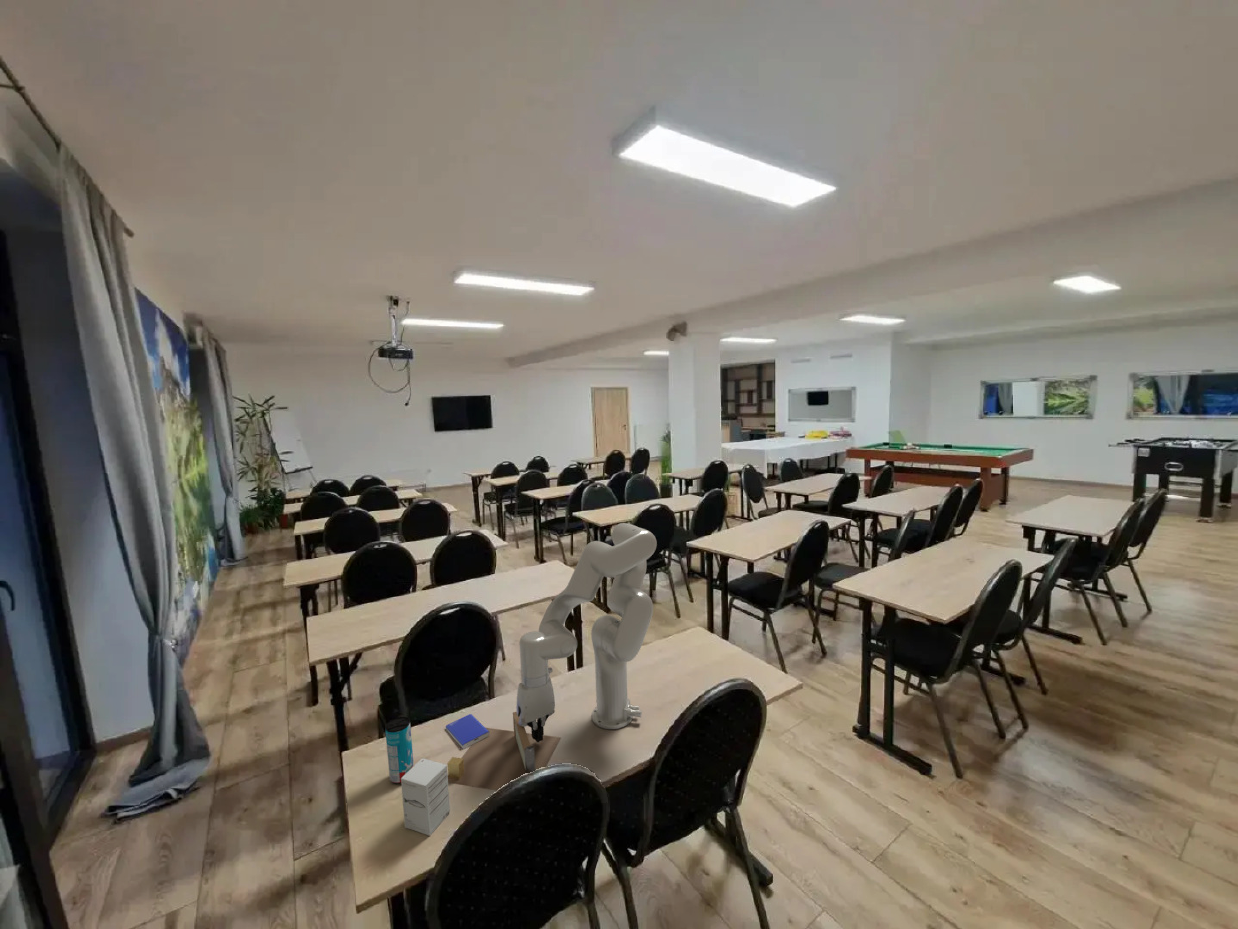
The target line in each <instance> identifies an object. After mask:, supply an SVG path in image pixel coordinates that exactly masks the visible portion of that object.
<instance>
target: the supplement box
mask: <svg viewBox="0 0 1238 929" xmlns="http://www.w3.org/2000/svg"><path fill="white" fill-rule="evenodd" d="M400 785H401V794H402V795H401V798H402V807H403V821H404V828H405V829H409V830H413V831H416V832H418V833H421V834H423V835H425V836H431V835H432V834H433V833H434V832H435V831H436V829H437V828H438V827H439V826H440V825H441V824H442V822H443V821H444V820H445V819H446V817H447V816H448V815H449V814H450V811H451V810H450V809H451V808H450V795H449V794H450V792H449V783H448V765H447V763H442V762H438V761H434V760H430V759H427V758H424V757H423V758H421V759H419V760H418V761H417V762H416V763H415V764H414V766H413V767H412V768H411V769H410V770H409V771H408V772H407V773H406V774H405V775H404V776H403V777H402V778H401V784H400Z"/></svg>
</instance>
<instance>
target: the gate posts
mask: <svg viewBox="0 0 1238 929" xmlns="http://www.w3.org/2000/svg"><path fill="white" fill-rule="evenodd" d="M446 765H447V775H448V778H454V779H460V778H461V777H462V776H463V774H464V759H462V757H457V756H456V757H454V756H452V757H451V758H450V759H449V761H448V762H447V763H446ZM525 767H526V773H530V772H533V771H535V755H534V747H533V746H528V747H526V748H525Z"/></svg>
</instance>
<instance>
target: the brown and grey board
mask: <svg viewBox="0 0 1238 929" xmlns="http://www.w3.org/2000/svg"><path fill="white" fill-rule="evenodd" d="M519 718H520V717H518V716H517V711H513V712H512V723H513V731H514V736H515V738H516V740H517V743H518V746H519V750H520V753H521V756H522V760H523V763H524V766H525V748H526V747H528V746H531V745H530V742H529V739H528V736H527V733H528V732H527V731H526V730H527V729H526V728H525V727H526V726H525V727H520V726H519V724H518V723H519ZM525 770H526V767H525Z"/></svg>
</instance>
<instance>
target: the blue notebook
mask: <svg viewBox="0 0 1238 929" xmlns="http://www.w3.org/2000/svg"><path fill="white" fill-rule="evenodd" d="M486 728H487V727H485V726H484V725H483V724H482V723H481V722H480V720H478V719H477V718H476V717H475V716H474V715H473V714H472V713H469V714H467V715H465V716H463V717H461V718H459V719H457V720H454V721H453V722H450V723H448V724H446V725H445V729H446V732H448V733H449V734H450V735H451V737H452V738H453V739H454V741H456V743H457V744H458V745H459V746H460V747H461V748H462V749H463V750H465V749H467V748H470V746H471V745H473V744H475V743H476V742H478V741H480V740H482V739H484V738H486V737H488V736H489V735H490V733H489V731H488V730H487V729H486Z"/></svg>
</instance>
